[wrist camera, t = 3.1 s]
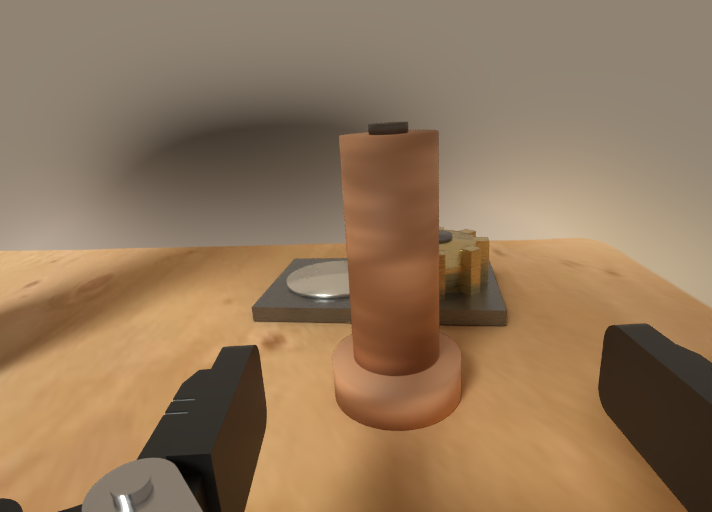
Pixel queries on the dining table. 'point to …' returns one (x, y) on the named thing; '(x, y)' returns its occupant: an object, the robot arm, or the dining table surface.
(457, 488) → the dining table surface
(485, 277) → the sun gear
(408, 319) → the brown round post
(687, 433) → the robot arm
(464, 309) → the carrier plate
